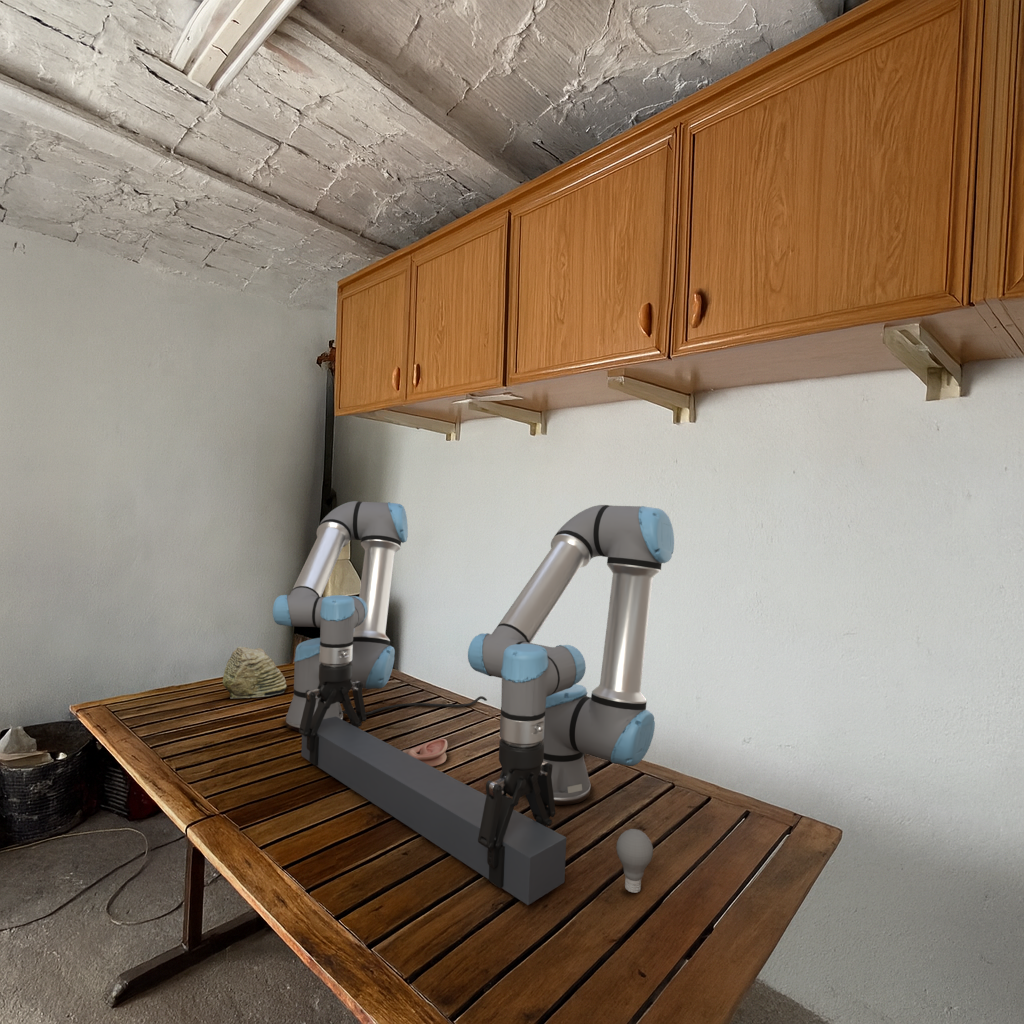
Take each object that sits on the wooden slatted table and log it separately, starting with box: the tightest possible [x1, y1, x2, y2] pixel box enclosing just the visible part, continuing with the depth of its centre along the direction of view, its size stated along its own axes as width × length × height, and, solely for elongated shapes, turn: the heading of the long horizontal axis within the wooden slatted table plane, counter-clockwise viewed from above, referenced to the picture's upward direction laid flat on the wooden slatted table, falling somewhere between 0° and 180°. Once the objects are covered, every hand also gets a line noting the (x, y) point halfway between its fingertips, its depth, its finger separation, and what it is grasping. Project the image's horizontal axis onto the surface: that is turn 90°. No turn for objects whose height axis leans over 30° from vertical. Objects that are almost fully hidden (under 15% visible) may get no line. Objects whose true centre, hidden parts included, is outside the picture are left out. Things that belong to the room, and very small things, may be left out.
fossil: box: [222, 646, 288, 699], centre depth 198 cm, size 9×18×15 cm, turn 132°
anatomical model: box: [402, 738, 449, 767], centre depth 154 cm, size 13×4×12 cm
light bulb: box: [615, 828, 654, 894], centre depth 106 cm, size 6×6×10 cm
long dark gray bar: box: [300, 716, 567, 906], centre depth 128 cm, size 74×9×8 cm, turn 45°
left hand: (332, 757), depth 149 cm, fingers closed on long dark gray bar, 9 cm apart
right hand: (516, 871), depth 106 cm, fingers closed on long dark gray bar, 9 cm apart
